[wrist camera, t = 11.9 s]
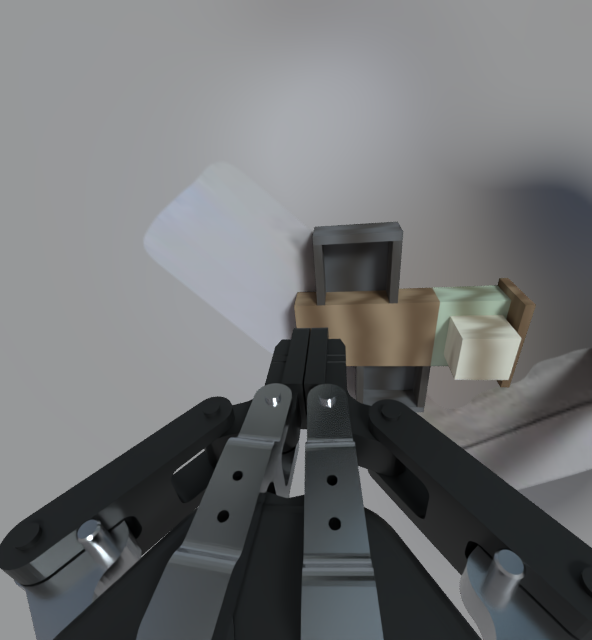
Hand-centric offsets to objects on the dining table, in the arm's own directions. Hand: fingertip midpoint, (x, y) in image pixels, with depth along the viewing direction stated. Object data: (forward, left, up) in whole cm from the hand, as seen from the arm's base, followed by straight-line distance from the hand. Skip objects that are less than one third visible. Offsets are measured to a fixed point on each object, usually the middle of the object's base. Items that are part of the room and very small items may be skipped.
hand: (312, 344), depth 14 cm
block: (-18, +17, -25) cm, 35 cm away
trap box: (-8, +17, -29) cm, 35 cm away
